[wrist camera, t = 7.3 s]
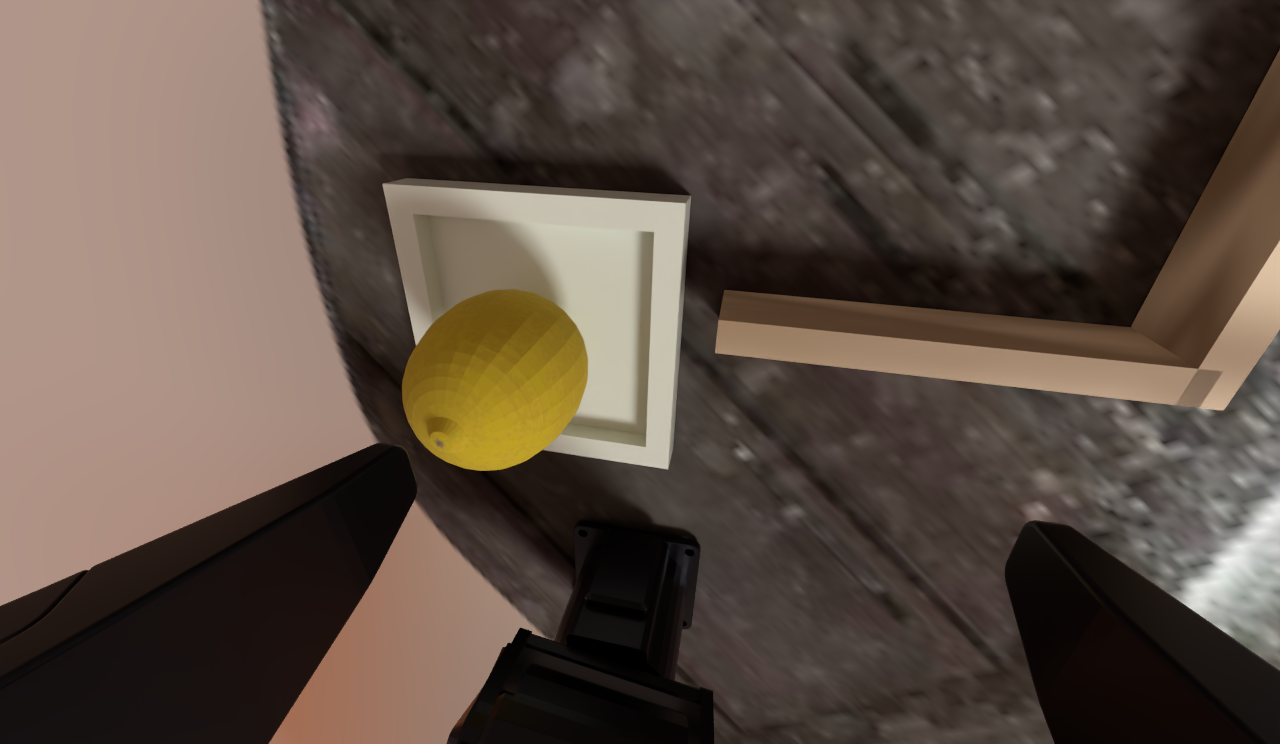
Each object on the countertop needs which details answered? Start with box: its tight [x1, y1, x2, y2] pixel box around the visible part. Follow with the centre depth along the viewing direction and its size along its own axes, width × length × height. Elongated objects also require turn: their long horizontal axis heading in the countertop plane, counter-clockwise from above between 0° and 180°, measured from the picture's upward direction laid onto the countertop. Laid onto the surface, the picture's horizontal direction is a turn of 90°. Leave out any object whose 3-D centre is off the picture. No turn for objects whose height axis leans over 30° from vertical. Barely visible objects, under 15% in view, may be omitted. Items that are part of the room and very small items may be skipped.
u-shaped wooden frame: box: [715, 50, 1280, 410], centre depth 13 cm, size 16×15×3 cm
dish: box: [382, 178, 691, 469], centre depth 21 cm, size 11×11×2 cm
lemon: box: [402, 289, 588, 471], centre depth 17 cm, size 6×6×8 cm
